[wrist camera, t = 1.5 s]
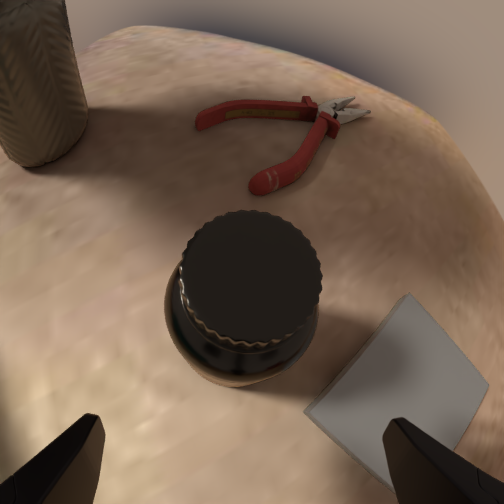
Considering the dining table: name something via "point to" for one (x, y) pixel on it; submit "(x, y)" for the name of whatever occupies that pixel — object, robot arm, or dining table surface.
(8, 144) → the lamp
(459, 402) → the grey flat square slab
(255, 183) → the pliers
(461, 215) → the dining table surface
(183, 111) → the dining table surface
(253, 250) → the supplement bottle
